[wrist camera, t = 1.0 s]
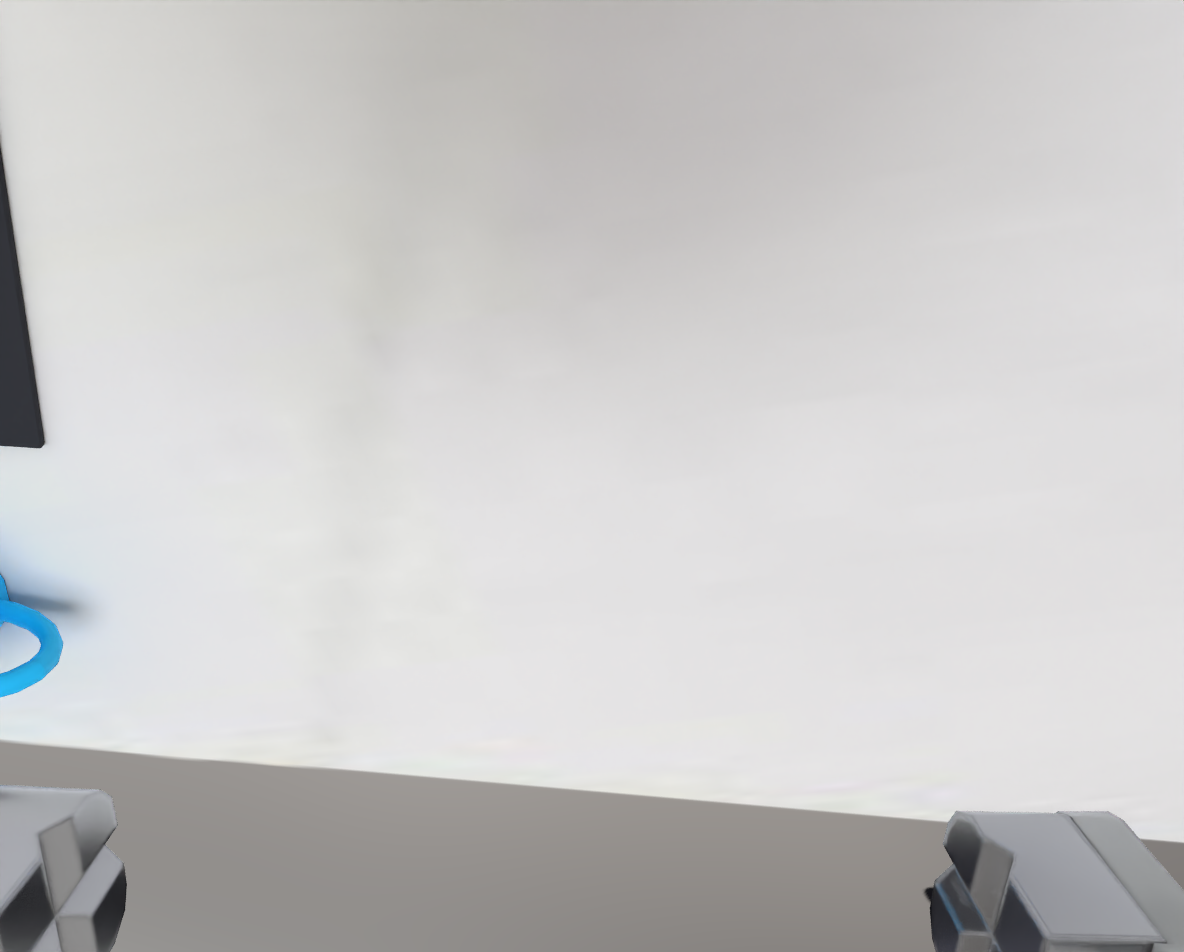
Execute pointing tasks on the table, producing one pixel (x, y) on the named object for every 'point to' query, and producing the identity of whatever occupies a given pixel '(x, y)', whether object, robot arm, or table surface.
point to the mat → (15, 347)
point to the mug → (41, 628)
